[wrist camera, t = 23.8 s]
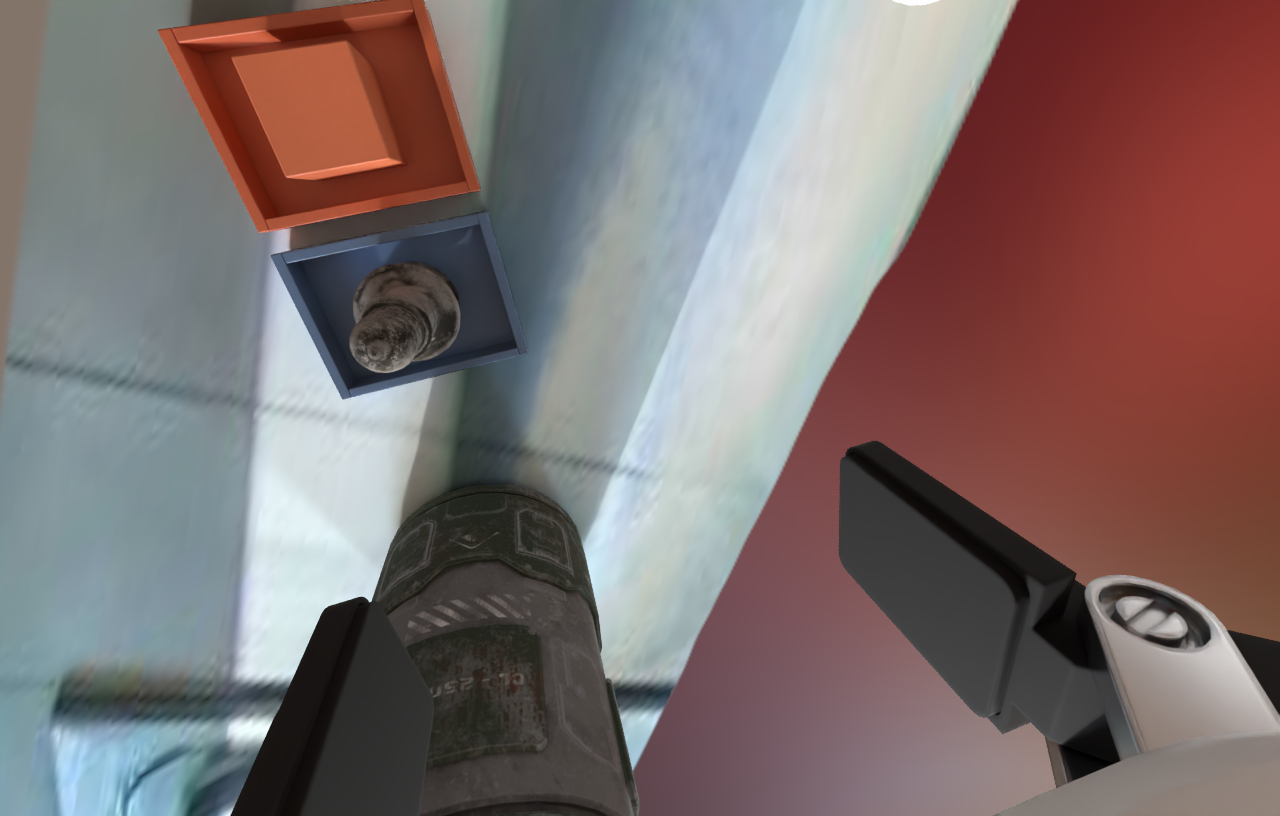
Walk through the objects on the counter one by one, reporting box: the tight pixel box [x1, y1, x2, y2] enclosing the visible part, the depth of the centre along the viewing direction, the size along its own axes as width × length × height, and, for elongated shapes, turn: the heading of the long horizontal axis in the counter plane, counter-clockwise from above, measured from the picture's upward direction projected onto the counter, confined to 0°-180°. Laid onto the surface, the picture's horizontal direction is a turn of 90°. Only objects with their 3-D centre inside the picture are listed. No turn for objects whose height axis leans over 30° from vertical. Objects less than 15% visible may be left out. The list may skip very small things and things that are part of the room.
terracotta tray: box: [158, 0, 481, 233], centre depth 27 cm, size 12×9×2 cm
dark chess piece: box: [350, 261, 461, 373], centre depth 27 cm, size 6×6×12 cm
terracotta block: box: [232, 40, 407, 181], centre depth 25 cm, size 5×5×5 cm
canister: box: [372, 484, 639, 816], centre depth 29 cm, size 16×16×28 cm
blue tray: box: [271, 211, 528, 399], centre depth 31 cm, size 12×9×2 cm
